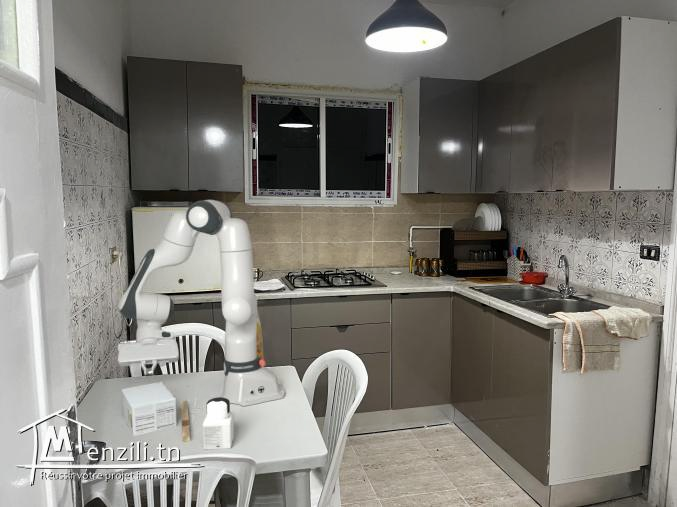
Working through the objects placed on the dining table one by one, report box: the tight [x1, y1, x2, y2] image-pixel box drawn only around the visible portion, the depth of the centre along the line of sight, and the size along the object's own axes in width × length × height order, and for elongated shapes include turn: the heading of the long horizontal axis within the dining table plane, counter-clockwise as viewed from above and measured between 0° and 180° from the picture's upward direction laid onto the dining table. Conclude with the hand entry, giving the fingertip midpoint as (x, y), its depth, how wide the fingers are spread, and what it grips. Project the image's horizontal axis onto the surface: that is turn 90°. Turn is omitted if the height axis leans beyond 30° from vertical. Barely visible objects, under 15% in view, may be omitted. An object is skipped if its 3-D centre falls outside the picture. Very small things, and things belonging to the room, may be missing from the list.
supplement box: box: [121, 381, 177, 437], centre depth 160 cm, size 17×13×9 cm
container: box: [202, 396, 235, 450], centre depth 145 cm, size 8×8×13 cm
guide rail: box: [180, 400, 191, 443], centre depth 159 cm, size 2×26×2 cm, turn 18°
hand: (148, 374), depth 173 cm, fingers closed
